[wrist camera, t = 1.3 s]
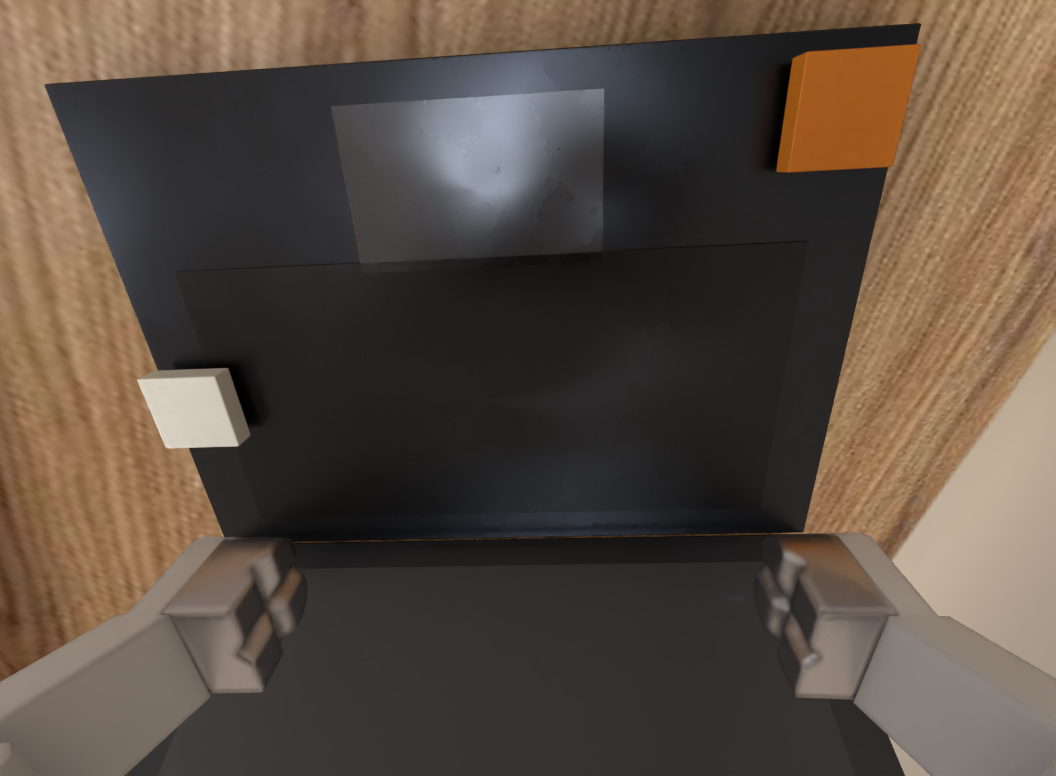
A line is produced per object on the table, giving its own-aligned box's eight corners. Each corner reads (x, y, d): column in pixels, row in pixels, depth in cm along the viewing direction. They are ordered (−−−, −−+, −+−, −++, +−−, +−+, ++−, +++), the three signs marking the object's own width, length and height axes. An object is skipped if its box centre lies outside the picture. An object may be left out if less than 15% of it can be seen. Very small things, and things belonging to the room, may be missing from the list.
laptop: (86, 90, 19) (40, 83, 17) (886, 35, 17) (924, 22, 16) (245, 520, 28) (225, 544, 26) (787, 509, 26) (804, 533, 24)
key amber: (791, 57, 16) (806, 51, 15) (900, 50, 16) (922, 43, 15) (775, 171, 17) (788, 172, 16) (874, 166, 17) (893, 166, 16)
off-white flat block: (153, 370, 21) (136, 379, 20) (228, 367, 21) (214, 376, 20) (180, 437, 23) (165, 449, 22) (251, 435, 23) (239, 446, 22)
